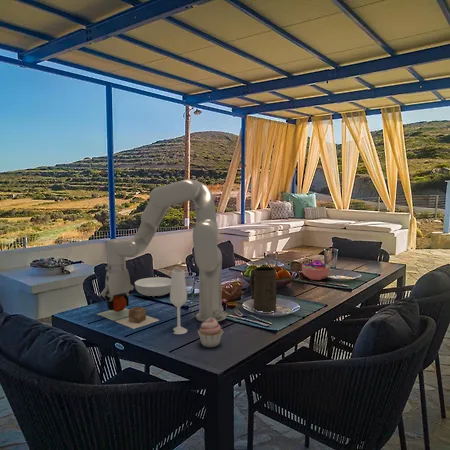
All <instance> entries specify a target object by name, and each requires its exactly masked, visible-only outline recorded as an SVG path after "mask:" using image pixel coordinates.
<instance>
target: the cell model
mask: <svg viewBox="0 0 450 450" xmlns="http://www.w3.org/2000/svg"><path fill="white" fill-rule="evenodd" d="M301 271H302V274H303V275H304V276H305V277H306V278H308V279H309V280H313V281H321V280H323V279H326V278H327V277H329V275H330V272H331V266H330V264H328V263H323V261H321V260H319V259H314V260H313V261H312V262H305V263H302V265H301Z"/></svg>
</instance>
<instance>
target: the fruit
mask: <svg viewBox="0 0 450 450" xmlns="http://www.w3.org/2000/svg"><path fill="white" fill-rule="evenodd" d="M123 296H124V295H121V294H119V295H114V296H113V299H112V301H113V311H116V312H120V311H122V310H124V308H127V306H126V299H125V298H124V297H123Z"/></svg>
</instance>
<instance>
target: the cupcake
mask: <svg viewBox="0 0 450 450" xmlns="http://www.w3.org/2000/svg"><path fill="white" fill-rule="evenodd" d="M197 333H198V335H199V339H200V343H201V345H202V346H203V347H205V348H216V347H218V346H219V345H220V342H221V338H222V336H223V333H224V331H223V328H222V327H221V325H220V323H219V322H217V321H216V320H215V319H214V318H208V319H207V320H206V322H202V323H201V325H200V327H199V329H198V330H197Z"/></svg>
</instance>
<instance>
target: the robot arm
mask: <svg viewBox="0 0 450 450" xmlns="http://www.w3.org/2000/svg"><path fill="white" fill-rule="evenodd" d="M148 198H149V201H148V203H147V205H146V206H145V208H144V210H143V212H142V213H141V216H140V225H139V228H138V230H137V231H136V233H135V234H134V236H133V237H132V238H130V239H127V240H124V239H122V238H112V239H108V240H107V242H106V252H107V253H106V254H107V266H105V270H106V275H105V285H104V286H105V287H104V288H103V290H102V291H101V292H100V296H102V298H103V299H104V300H106V302H107V305H106V306H107V307H106V308H107V309H108V311H109V310H113V301H112V299H113V297H114V296H117V295H122V296H123V297H124V298H125V299H126V307H128V306H129V298H130V296H131V293H133V290H134V288H135V285H132V283H131V279H130V274H129V270H128V269H127V265H126V264H127V263H126V258H135V257H137V256H138V255H140V254H143V253H144V252H145V250H146V249H147V248H148V246H149V245H150V243H151V241H152V239H153V238H154V236H155V234H156V232H157V230H158V229H159V226H160V225H161V223H162V221H163V220H164V218H165V216H166V214H167V213H168V212H169V210H170V208H171V207H172V206H174V205H178V204H181V203H182V204H183V203H187V202H190V201H192V202H193V204H194V213H195V223H196V224H195V225H194V227H193V229H192V244H193V253H194V260H195V264H196V266H197V268H198V271H199V272H198V273H199V274H198V291H199V292H198V299H199V301H198V303H199V304H198V305H199V307H198V309H199V312H198V313H196V314H195V319H196V320H197V321H199V322H202V323H204V322H206V320H207V319H208V318H214V319H215V320H216V321H217V322H218V323H219V322H221V321H223V320H226V318H227V316H228V313H227V312H224V308H223V307H222V306H223V305H222V304H223V303H222V302H223V301H222V280H223V279H222V274H223V273H222V269H223V268H222V267H223V266H222V265H223V254H222V251H221V249H220V248H219V247H218V235H219V226H218V221H217V212H216V204H215V199H214V195H213V193H212V191H211V190H210V188H209V187H208V186H207V185H205V184H204V183H203V182H201V181H199V180H195V179H183V180H179V181H175V182H172V183H169V184H166V185H160V186H156V187H155V188H153V189H152V190H151V192H150V193H149V195H148Z"/></svg>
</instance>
